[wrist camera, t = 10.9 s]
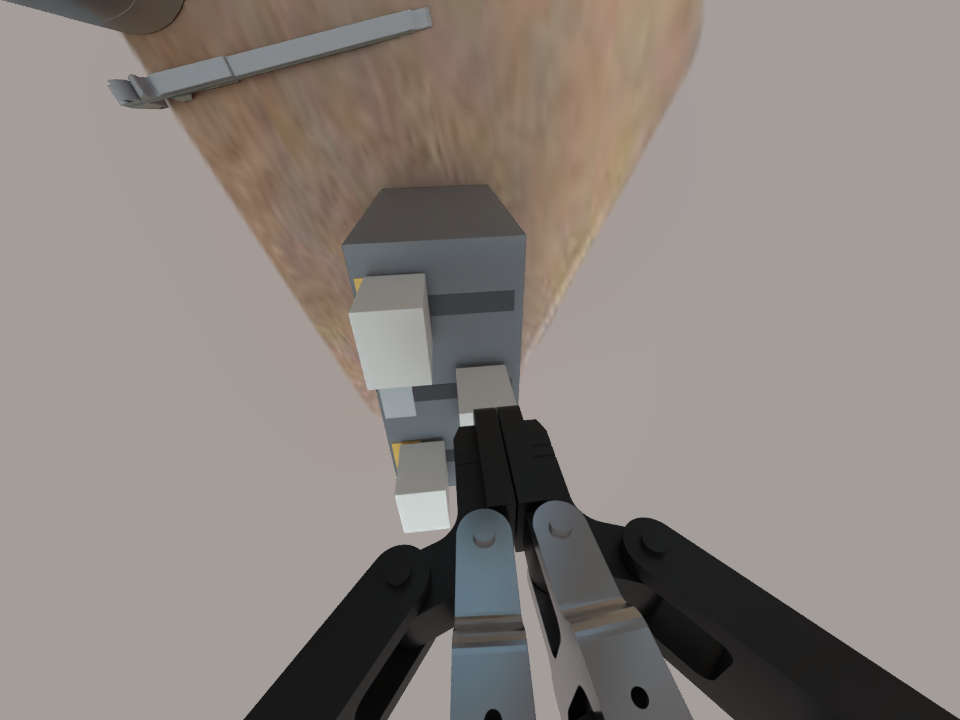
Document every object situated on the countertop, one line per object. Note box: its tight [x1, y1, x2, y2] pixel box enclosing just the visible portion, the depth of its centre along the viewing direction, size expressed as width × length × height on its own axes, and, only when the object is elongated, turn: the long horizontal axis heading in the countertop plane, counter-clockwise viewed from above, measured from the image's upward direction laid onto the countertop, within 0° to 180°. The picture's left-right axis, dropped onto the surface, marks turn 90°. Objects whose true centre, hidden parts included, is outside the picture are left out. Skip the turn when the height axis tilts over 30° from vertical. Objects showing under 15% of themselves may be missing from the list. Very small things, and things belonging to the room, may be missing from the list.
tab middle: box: [456, 365, 517, 427], centre depth 21 cm, size 3×4×4 cm
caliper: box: [108, 7, 433, 109], centre depth 23 cm, size 20×1×6 cm, turn 104°
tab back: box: [395, 441, 450, 533], centre depth 24 cm, size 3×4×4 cm
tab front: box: [348, 273, 433, 390], centre depth 18 cm, size 3×4×4 cm
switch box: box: [342, 185, 526, 486], centre depth 30 cm, size 9×19×16 cm, turn 1°
